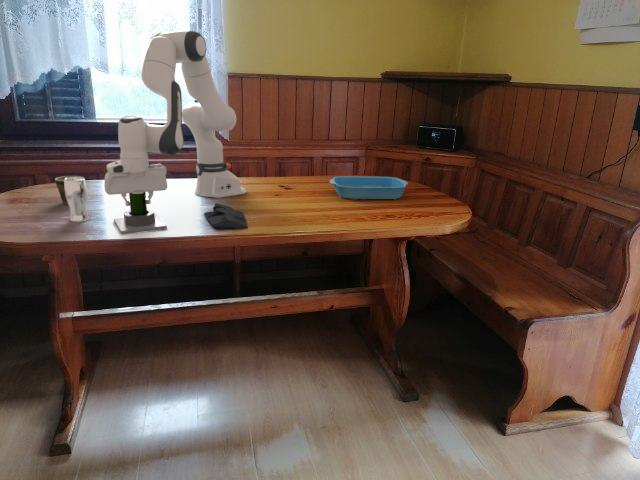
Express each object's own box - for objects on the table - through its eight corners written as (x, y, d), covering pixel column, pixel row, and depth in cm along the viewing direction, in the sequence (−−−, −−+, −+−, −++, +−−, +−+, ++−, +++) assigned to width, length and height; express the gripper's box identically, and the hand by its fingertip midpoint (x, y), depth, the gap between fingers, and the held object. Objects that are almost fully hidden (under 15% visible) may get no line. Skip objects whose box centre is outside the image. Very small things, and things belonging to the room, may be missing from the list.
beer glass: (73, 216, 178) (68, 176, 173) (93, 217, 178) (88, 176, 173) (65, 222, 171) (59, 180, 166) (86, 222, 172) (80, 181, 167)
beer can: (134, 225, 168) (131, 191, 164) (129, 221, 172) (126, 188, 168) (150, 223, 171) (147, 189, 167) (144, 219, 175) (142, 186, 171)
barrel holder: (156, 217, 181) (155, 205, 180) (167, 228, 169) (166, 216, 168) (114, 221, 174) (112, 209, 172) (121, 234, 162) (120, 221, 160)
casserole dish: (331, 201, 215) (332, 185, 213) (326, 189, 236) (327, 174, 234) (412, 202, 219) (414, 187, 217) (400, 190, 240) (401, 176, 238)
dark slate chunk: (206, 232, 169) (205, 219, 168) (203, 214, 189) (203, 202, 188) (250, 230, 173) (250, 217, 172) (242, 213, 193) (242, 201, 192)
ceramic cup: (91, 201, 197) (88, 177, 194) (70, 207, 188) (66, 182, 185) (69, 197, 202) (65, 173, 199) (47, 202, 193) (43, 177, 190)
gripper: (163, 161, 172) (166, 199, 177) (101, 165, 162) (105, 205, 167) (168, 165, 167) (170, 203, 172) (104, 168, 157) (108, 209, 162)
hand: (138, 204), depth 169 cm, fingers closed on beer can, 5 cm apart
